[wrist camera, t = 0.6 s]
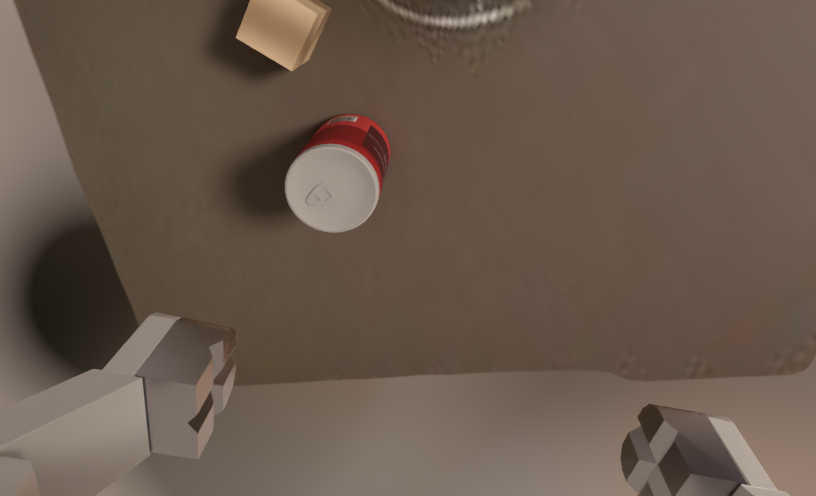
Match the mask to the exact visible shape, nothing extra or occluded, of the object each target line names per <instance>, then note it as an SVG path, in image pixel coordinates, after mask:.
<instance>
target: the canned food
mask: <svg viewBox="0 0 816 496" xmlns="http://www.w3.org/2000/svg"><path fill="white" fill-rule="evenodd" d="M389 160H390V145H389V142H388V139H387V137H386V135H385V133H384V131H383V130H382V129H381V128H380V126H379V125H377V124H376V123H375V122H374V121H372V120H371V119H369V118H367V117H364V116H361V115H357V114H342V115H339V116H336V117H333V118H332V119H330V120H328V121H327V122H325V123H324V124H323V125H322V126H321V127H320V129H319V130H318V131H317V132H316V134H315V135H314V136H313V137H312V138H311V140H310V141H309V142H308V143H307V145H306V146H305V147H304V148H303V150H302V151H301V152H300V153H299V155H298V156H297V157H296V158H295V160H294V161H293V163H292V164H291V166H290V168H289V170H288V173H287V176H286V180H285V194H286V199H287V202H288V204H289V206H290V208H291V210H292V211H293V213H294V214H295V215H296V216H297V217H298V218H299V219H300V220H301V221H302V222H304V223H305V224H306V225H308V226H310V227H312V228H314V229H317V230H320V231H324V232H332V233H335V232H344V231H348V230H351V229H353V228H356V227H358V226H359V225H361V224H362V223H363V222H365V221H366V220H367V218H368V217H369V216H370V215H371V213H372V212H373V210H374V209H375V207H376V205H377V202H378V199H379V196H380V193H381V189H382V186H383V182H384V178H385V175H386V171H387V167H388V164H389Z"/></svg>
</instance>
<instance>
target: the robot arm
mask: <svg viewBox="0 0 816 496" xmlns="http://www.w3.org/2000/svg"><path fill="white" fill-rule="evenodd" d="M235 345H236V331H235V329H234V328H232V327H227V326H222V325H217V324H212V323H207V322H203V321H198V320H193V319H188V318H183V317H182V318H180V317H176V316H171V315H166V314H161V313H157V312H156V313H154V314H152V315H150V316H148V317H147V318H146V320H145V321H144V322H143V323H142V324H141V325H140V327H139V328H138V329H137V330H136V331H135V332H134V333H133V335H132V336H131V337H130V338H129V339H128V340H127V342H126V343H125V344H124V345H123V346H122V347H121V349H120V350H119V351H118V352H117V353H116V355H115V356H114V357H113V358H112V359H111V360H110V361H109V362H108V364H107V365H106V366H105V367H104V368H103V369H102V370H97V369H92V370H90V371H88V372H85V373H83V374H81V375H78V376H76V377H74V378H71V379H69V380H67V381H65V382H62V383H60V384H58V385H55V386H53V387H51V388H49V389H47V390H44V391H42V392H40V393H37V394H35V395H32V396H30V397H28V398H26V399H23V400H21V401H19V402H16V403H14V404H12V405H10V406H7V407H5V408H3V409H0V496H95V495H96V494H98V493H99V492H100V491H102V490H103V489H105V488H106V487H107V486H109V485H110V484H111V483H113V482H114V481H115V480H117V479H118V478H120V477H121V476H122V475H124V474H125V473H126V472H128V471H129V470H130V469H132V468H133V467H135V466H136V465H137V464H138V463H140V462H141V461H143V460H144V459H145V458H147V457H148V456H149V455H150V452H152V453H159V454H166V455H174V456H180V457H187V458H194V459H198V458H199V457H200V455H201V453H202V451H203V449H204V447H205V445H206V443H207V441H208V439H209V437H210V435H211V433H212V431H213V429H214V427H213V426H214V421H213V420H214V415H216V414H218V413H219V412H221V411H223V409H224V407H225V405H226V403H227V401H228V399H229V396H230V393H231V390H232V387H233V383H234V377H235V369H236V362H235V360H234V359H233V358H232V356H231V353H232V351H233V349H234V347H235ZM638 420H639V423H640V427H638V428H636V429H634V430H632V431H631V432H629V433H628V434H627V436H626V438H625V440H624V442H623V444H622V450H621V465H622V471H623V474H624V476H625V479H626V482H627V483H628V484H629V485H630V486H631V487H632V488H633V489H634V490H635V491H636V492H637V493H638V494H637V496H790V495H789V494H787V493H786V492H782V491H778V490H777V489H776V487H775V486H774V484H773V483H772V481H771V480H770V478H769V477H768V475H767V474H766V472H765V471H764V469H763V468H762V466H761V465H760V463H759V461H758V460H757V458H756V457H755V455H754V454H753V452H752V451H751V449H750V448H749V446H748V445H747V443H746V442H745V440H744V438H743V437H742V435H741V434H740V432H739V431H738V429H737V428H736V426H735V425H734V423H733V422H732V421H731V420H729V419H728V418H727V417H725V416H719V415H714V414H708V413H701V412H699V413H697V412H693V411H688V410H682V409H676V408H670V407H665V406H659V405H653V404H648V405H647V406H646V407H644V408H643V409H642V411H641V412H640V414H639V415H638Z"/></svg>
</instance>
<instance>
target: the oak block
mask: <svg viewBox="0 0 816 496" xmlns="http://www.w3.org/2000/svg"><path fill="white" fill-rule="evenodd" d="M331 11H332V9H331V8H330V7H328V6H327V5H325V4H324V3H322V2H320V1H319V0H250V2H249V4H248V7H247V10H246V12H245V15H244V17H243V20H242V23H241V25H240V28H239V30H238V33H237V36H236V38H237V39H239V40H240V41H242V42H244V43H245V44H247V45H249V46H250V47H252V48H254V49H255V50H257V51H259V52H260V53H262V54H264V55H265V56H267V57H269V58H270V59H272V60H274V61H275V62H277V63H279V64H280V65H282V66H284V67H285V68H287V69H289V70H290V71H293V70H294V69H296V68H297V67H299V66H300V65H302V64H303V63H305V62H307V61H308V60H309V58H310V56H311V54H312V52H313V50H314V48H315V45H316V43H317V41H318V39H319V37H320V35H321V33H322V30H323V28H324V26H325V24H326V22H327V20H328V17H329V15H330V13H331Z"/></svg>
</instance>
